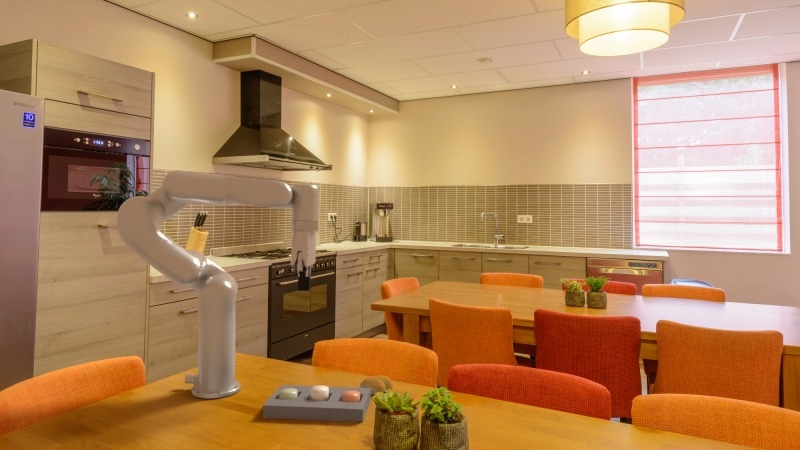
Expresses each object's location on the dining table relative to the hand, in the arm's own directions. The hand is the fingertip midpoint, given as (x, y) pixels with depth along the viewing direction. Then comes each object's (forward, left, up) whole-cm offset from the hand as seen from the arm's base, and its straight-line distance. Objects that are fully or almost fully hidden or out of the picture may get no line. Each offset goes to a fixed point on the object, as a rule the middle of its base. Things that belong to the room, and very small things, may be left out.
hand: (304, 290), depth 134 cm
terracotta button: (+17, -17, -27) cm, 36 cm away
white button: (+9, -17, -26) cm, 32 cm away
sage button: (+1, -17, -27) cm, 32 cm away
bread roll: (+22, -2, -28) cm, 35 cm away
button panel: (+9, -17, -27) cm, 33 cm away
